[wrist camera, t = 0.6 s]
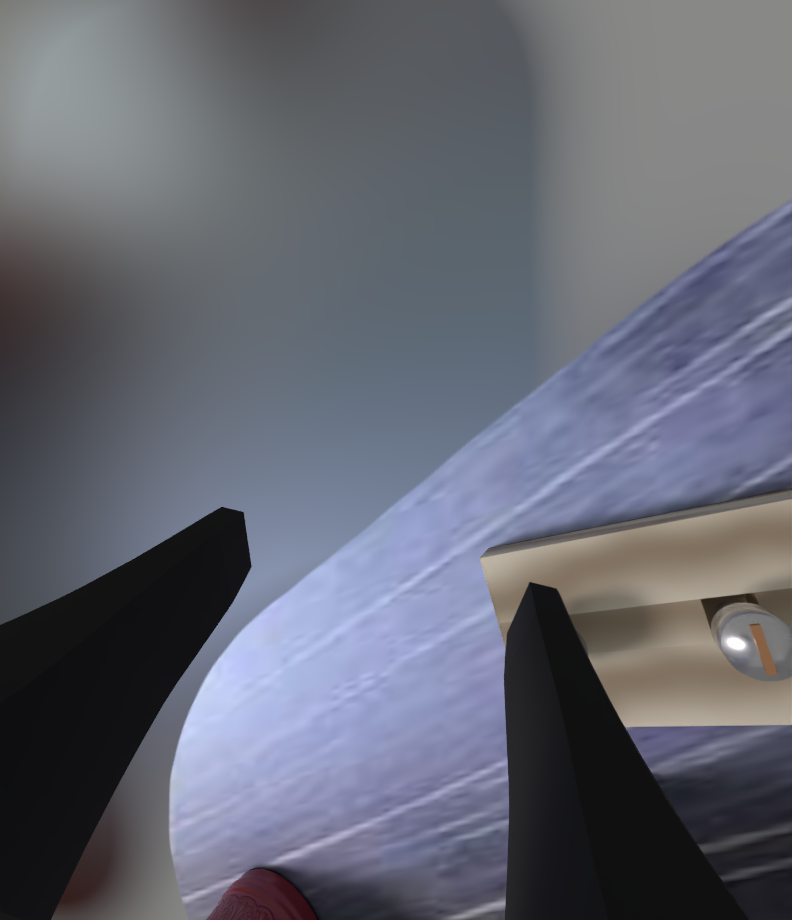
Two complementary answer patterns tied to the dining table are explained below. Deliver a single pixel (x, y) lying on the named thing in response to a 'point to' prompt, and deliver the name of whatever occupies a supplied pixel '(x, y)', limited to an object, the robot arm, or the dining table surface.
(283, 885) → the canister
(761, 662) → the pot knob
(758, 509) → the mount board
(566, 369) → the dining table surface
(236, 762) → the dining table surface
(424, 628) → the dining table surface
